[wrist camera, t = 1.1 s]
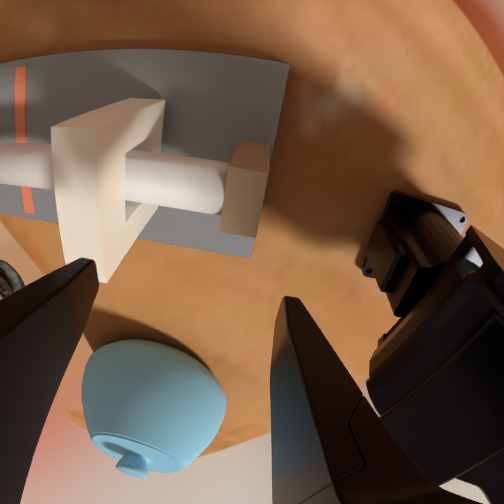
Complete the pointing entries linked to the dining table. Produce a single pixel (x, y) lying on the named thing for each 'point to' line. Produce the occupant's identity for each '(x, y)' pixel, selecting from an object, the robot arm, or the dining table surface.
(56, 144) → the collar
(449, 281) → the robot arm
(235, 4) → the dining table surface
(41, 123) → the pipe stand
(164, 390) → the sugar bowl
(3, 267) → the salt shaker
